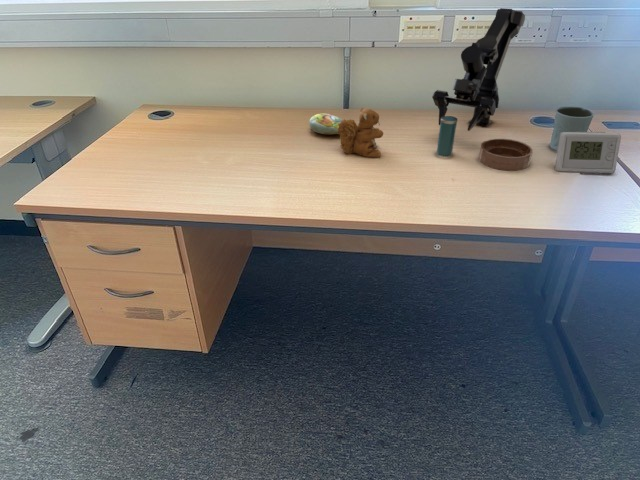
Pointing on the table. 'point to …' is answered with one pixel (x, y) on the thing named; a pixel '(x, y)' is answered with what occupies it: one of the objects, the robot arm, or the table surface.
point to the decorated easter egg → (325, 124)
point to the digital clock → (587, 152)
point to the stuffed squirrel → (361, 134)
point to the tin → (446, 135)
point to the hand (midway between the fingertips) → (453, 127)
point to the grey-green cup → (570, 122)
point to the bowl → (505, 154)
